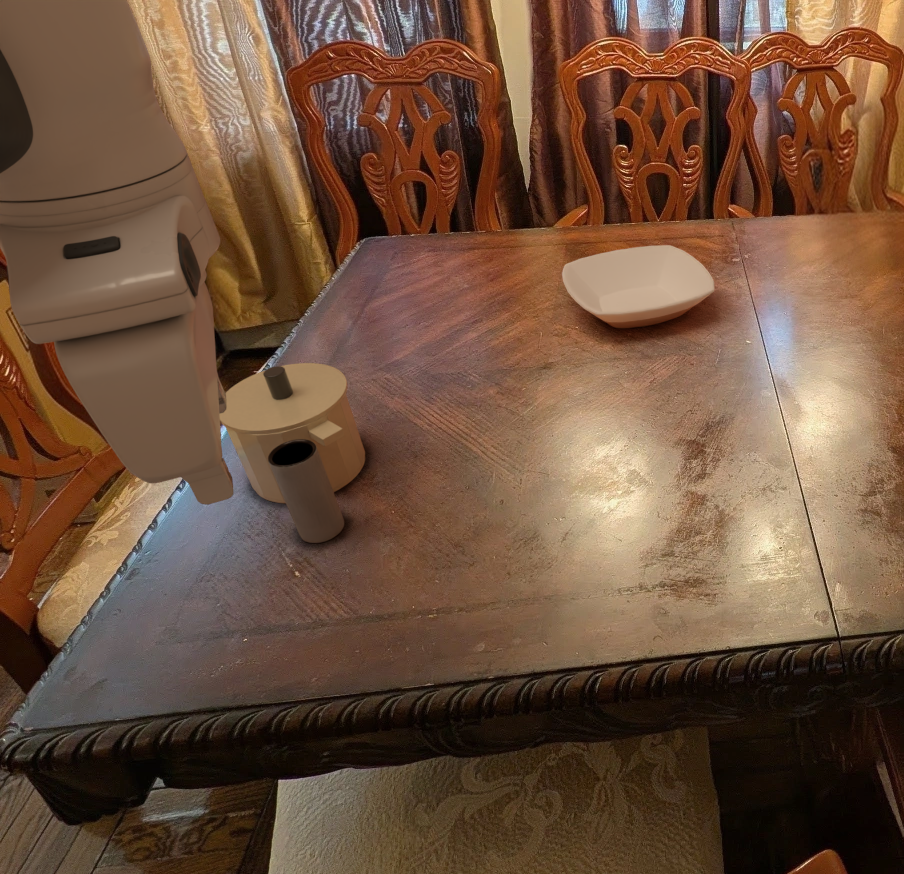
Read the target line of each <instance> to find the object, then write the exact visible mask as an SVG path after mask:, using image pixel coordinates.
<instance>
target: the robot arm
mask: <svg viewBox="0 0 904 874" xmlns="http://www.w3.org/2000/svg"><path fill="white" fill-rule="evenodd" d="M153 81H154V80H153V69H152V61H151V57H150V53H149V50H148V47H147V45H146V42H145V40H144V38H143V35H142V33H141V30H140V28H139V26H138V22H137V21H136V18H135V15H134V13H133V10H132V9H131V6H130V4H129V1H128V0H0V250H1V253H2V254H3V256H4V257H5V261H6V274H7V281H8V282H7V283H8V294H9V303H10V307H11V311H12V313H13V315H14V317H15V319H16V321H17V322H18V324H19V326H20V327H21V329H22V331H23V332H24V334H25V335H26V337H27V338H28V340H29V341H30V342H32V343H33V344H35V345H42V344H49V343H53V345H54V350H55V354H56V357H57V360H58V362H59V364H60V367H61V369H62V371H63V373H64V376H65V377H66V380H67V381H68V383H69V385H70V386H71V388H72V389H73V391H74V393H75V395H76V396H77V398H78V399H79V400H80V402H81V404H82V406H83V407H84V409H85V411H86V412H87V413H88V415H89V417H90V418H91V420H92V421H93V423H94V424H95V426H96V428H97V429H98V430H99V432H100V434H101V435H102V436H103V438H104V440H106V442H107V444H108V445H109V446H110V448H111V450H112V451H113V453H114V454H115V455H116V456H117V458H118V460H119V461H120V462H121V464H122V465H123V466H124V467H125V468H126V470H127V471H128V472H129V473H131V474H132V475H133V476H135V477H136V478H137V479H139V480H140V481H142V482H144V483H147V484H159V483H164V482H167V481H171V480H175V479H180V478H181V479H182V480H183V481H185V483H186V484H187V483H188V485H189V487H190V490H191V491H192V494H193V495H194V497H195V499H196V500H197V502H198V503H200V504H202V505H207V506H209V505H212V504H215V503H219V502H223V501H226V500H228V499H229V500H230V499H231V498H232V497H233V495H234V482H233V481H234V480H233V476H232V473H231V472H230V470H229V467H228V465H227V463H226V461H225V458H224V457H223V448H222V447H223V446H222V431H221V422H220V413H224V411H225V410H226V408H227V403H226V394H225V393H226V391H225V390H224V387H223V385H222V382H221V379H220V377H219V373H218V369H217V368H218V367H217V354H216V353H217V351H216V338H215V337H216V336H215V322H214V321H215V319H214V307H213V301H212V298H211V294H210V292H209V289H208V286H207V284H206V280H207V275H208V274H207V271H206V268H207V266H208V263H209V259H211V257H212V256H214V255H215V254H216V252H217V251H218V249H219V247H220V245H221V237H220V234H219V230H218V228H217V225H216V223H215V221H214V218H213V215H212V212H211V210H210V208H209V205H208V203H207V200H206V198H205V196H204V193H203V190H202V187H201V185H200V183H199V180H198V177H197V174H196V172H195V169H194V166H193V164H192V162H191V159H190V157H189V153H188V151H187V148H186V146H185V145H184V142H183V140H182V139H181V137H180V136H179V135H178V133H177V131H176V130H175V129H174V128H173V126H172V125H171V124H170V123H169V121H168V119H167V118H166V116H165V114H164V112H163V110H162V109H161V106H160V103H159V101H158V98H157V95H156V91H155V87H154V82H153Z"/></svg>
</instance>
